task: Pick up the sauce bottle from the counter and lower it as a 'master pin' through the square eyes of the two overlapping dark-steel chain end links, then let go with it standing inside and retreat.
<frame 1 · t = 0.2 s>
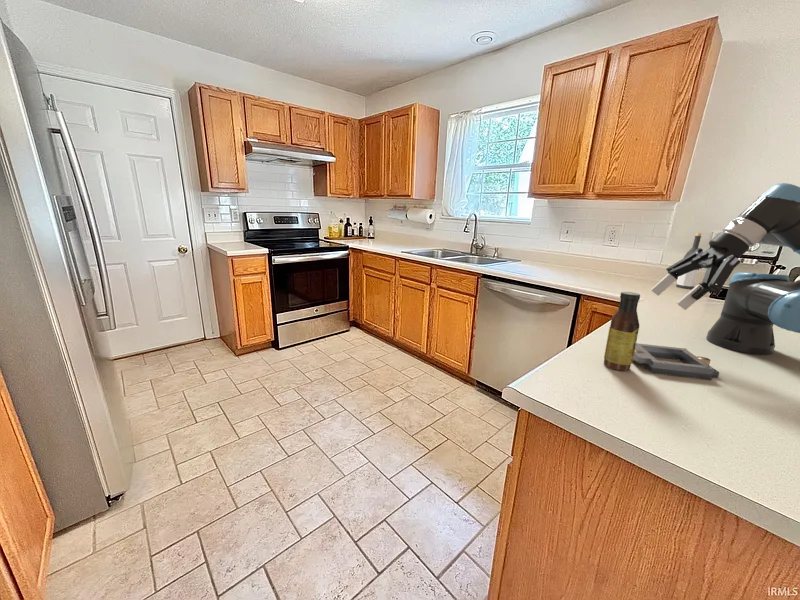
hand: (666, 299, 95), 16 cm above the countertop, tool tilted 35°, fingers open, 13 cm apart
lower chain end link: (667, 365, 90), on the countertop
upper chain end link: (667, 365, 90), on the countertop
sauce bottle: (615, 367, 89), on the countertop
wine bottle: (684, 287, 188), on the countertop
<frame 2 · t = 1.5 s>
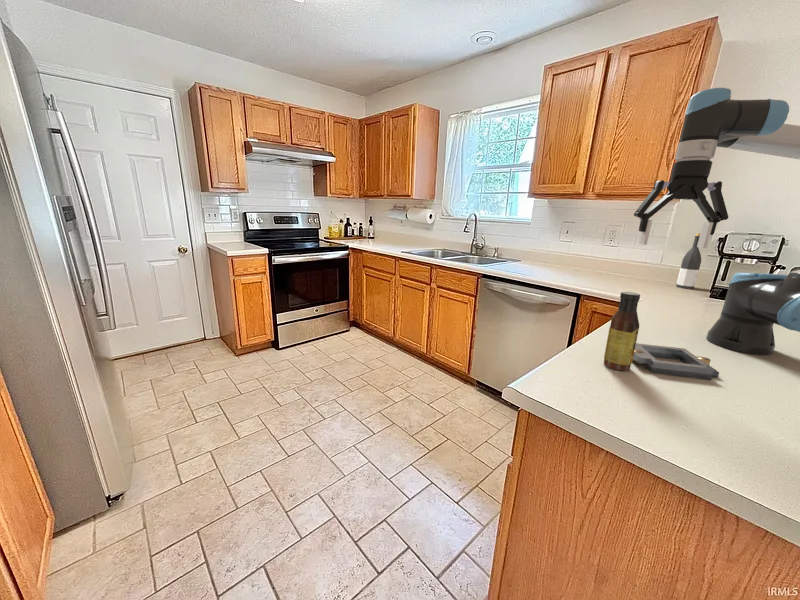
hand: (671, 246, 90), 31 cm above the countertop, tool pointing down, fingers open, 13 cm apart
nothing on the countertop moved.
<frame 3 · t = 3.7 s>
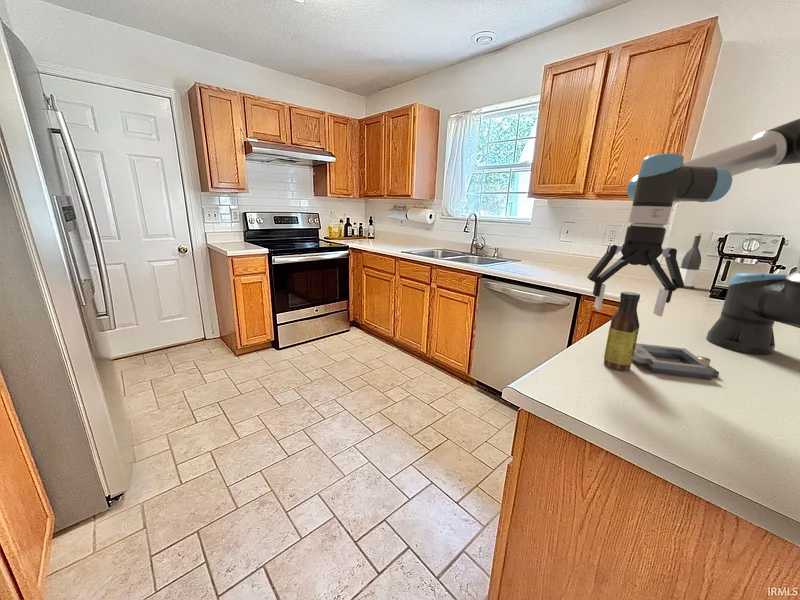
hand: (626, 311, 84), 15 cm above the countertop, tool pointing down, fingers open, 13 cm apart
nothing on the countertop moved.
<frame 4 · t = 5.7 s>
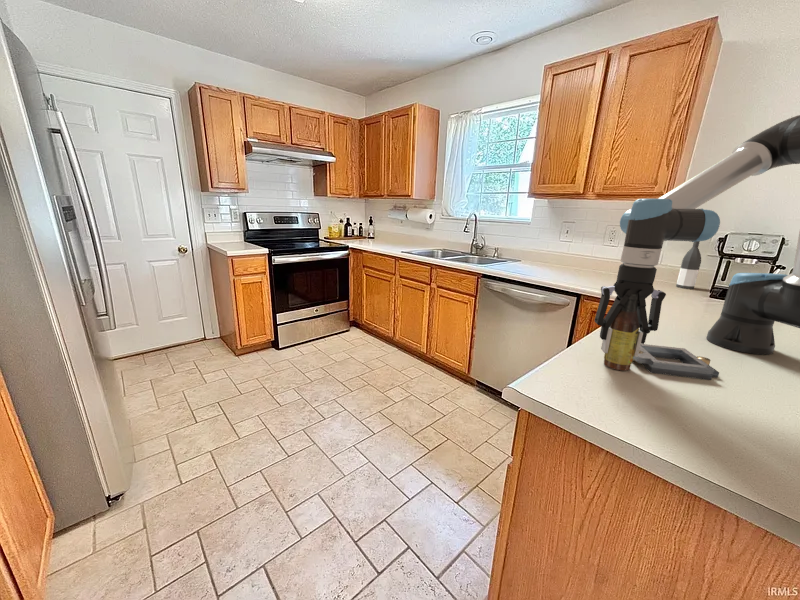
hand: (618, 352, 87), 4 cm above the countertop, tool pointing down, fingers closed on sauce bottle, 6 cm apart
sauce bottle: (615, 366, 89), on the countertop, touching gripper
everything else where it was.
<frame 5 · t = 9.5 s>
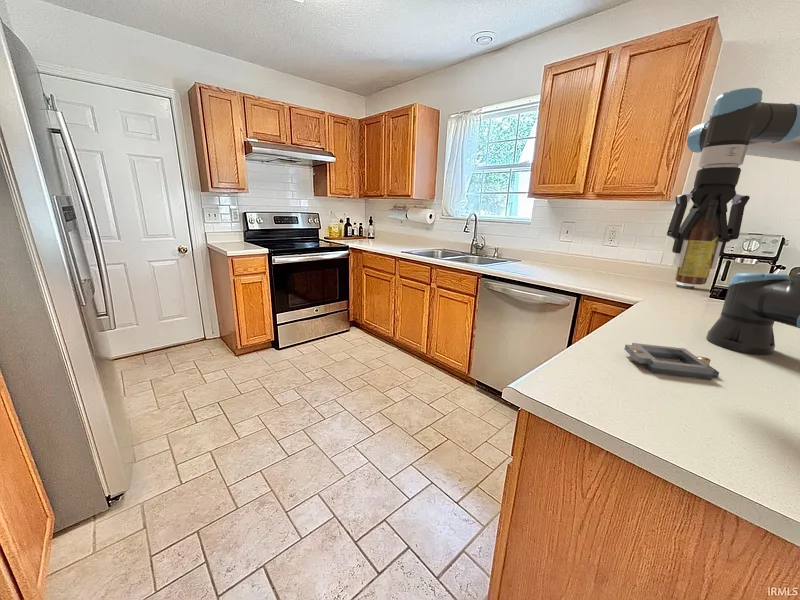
hand: (693, 267, 83), 27 cm above the countertop, tool pointing down, fingers closed on sauce bottle, 6 cm apart
sauce bottle: (688, 283, 84), point 22 cm above the countertop, touching gripper
everything else where it was.
when the fingers open (6 cm above the countertop, at t = 13.2 s): sauce bottle drops 2 cm, resting in lower chain end link.
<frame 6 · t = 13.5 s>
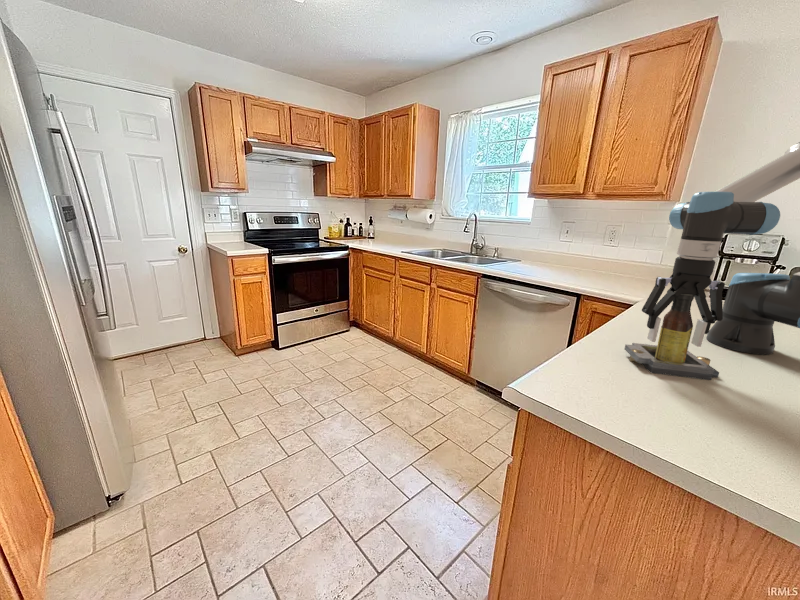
hand: (673, 342, 88), 7 cm above the countertop, tool pointing down, fingers open, 9 cm apart
sauce bottle: (667, 365, 90), resting in lower chain end link
everything else where it was.
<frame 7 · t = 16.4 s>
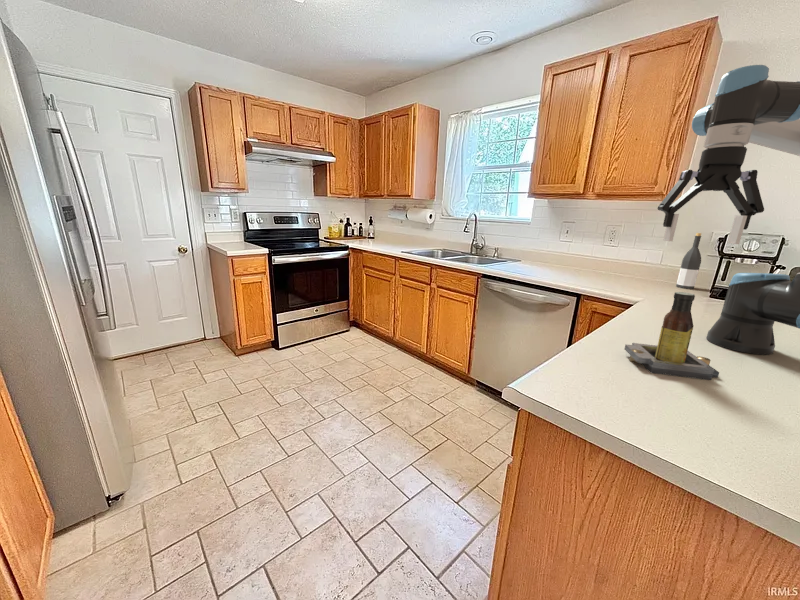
hand: (699, 242, 82), 33 cm above the countertop, tool pointing down, fingers open, 13 cm apart
nothing on the countertop moved.
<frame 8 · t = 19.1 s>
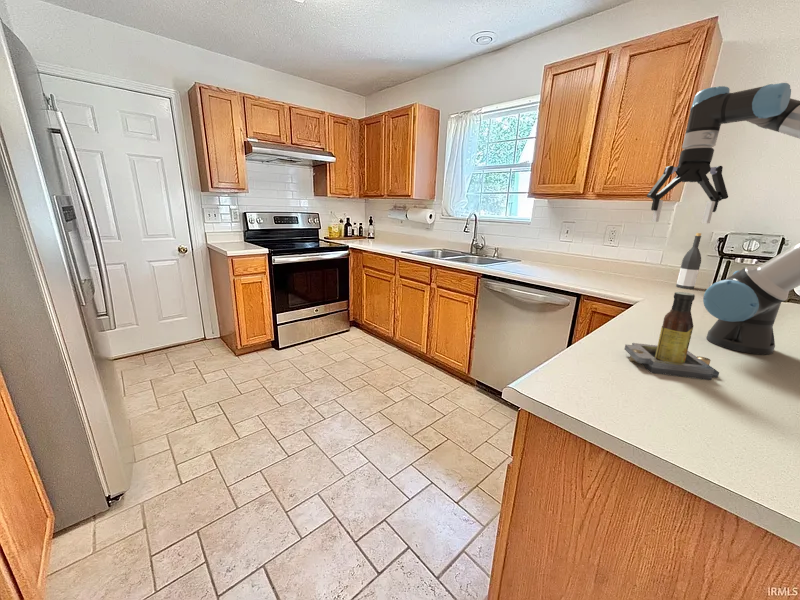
hand: (679, 222, 105), 37 cm above the countertop, tool pointing down, fingers open, 13 cm apart
nothing on the countertop moved.
at the end: sauce bottle 0.1 cm off-centre on the lower chain end link, point 0.0 cm above the lower chain end link's base; sauce bottle tilted 0°; the gripper is holding nothing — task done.
